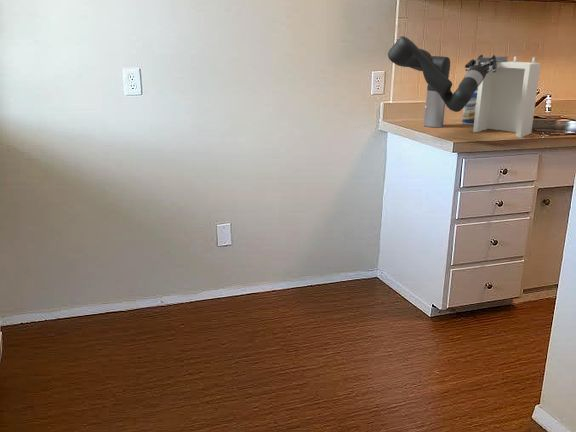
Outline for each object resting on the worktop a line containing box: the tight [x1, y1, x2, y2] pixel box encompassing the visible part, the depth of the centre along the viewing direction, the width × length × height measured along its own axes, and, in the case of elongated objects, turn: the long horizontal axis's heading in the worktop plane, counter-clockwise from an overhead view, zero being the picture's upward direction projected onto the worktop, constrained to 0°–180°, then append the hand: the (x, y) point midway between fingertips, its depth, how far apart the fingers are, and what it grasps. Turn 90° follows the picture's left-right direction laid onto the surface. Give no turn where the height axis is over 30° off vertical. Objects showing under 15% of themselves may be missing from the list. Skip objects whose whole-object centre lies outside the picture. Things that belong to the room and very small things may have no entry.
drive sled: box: [477, 55, 509, 63], centre depth 282 cm, size 5×24×2 cm, turn 143°
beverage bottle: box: [461, 88, 478, 126], centre depth 313 cm, size 8×8×20 cm
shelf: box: [472, 56, 542, 138], centre depth 287 cm, size 22×16×34 cm
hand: (488, 56), depth 276 cm, fingers closed on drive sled, 5 cm apart
